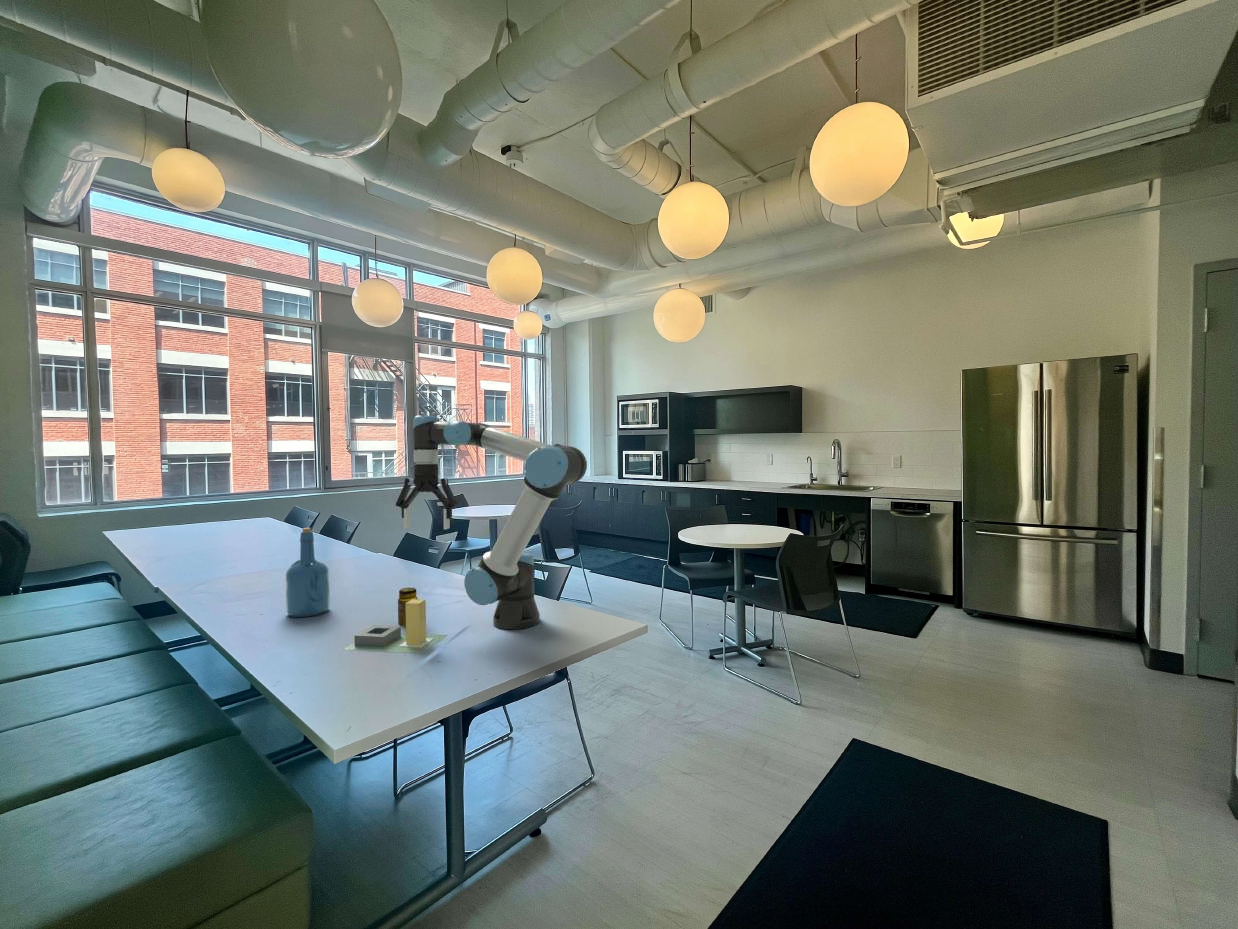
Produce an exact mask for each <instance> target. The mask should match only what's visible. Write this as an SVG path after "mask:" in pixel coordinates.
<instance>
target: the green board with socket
mask: <svg viewBox="0 0 1238 929" xmlns="http://www.w3.org/2000/svg"><path fill="white" fill-rule="evenodd" d="M401 629H402V625H399V626H398V625H395V626H394V625H376V624H375V625H374V624H373V625H371V626H369V627H367V628H366V629H364V630H361V631H360V632H359V633H357V634H355V635H354V642H353V643H352V644H350V645H349V646H346V647H345V648H343V650H344V651H360V652H362V651H364V652H365V651H366V652H378V653H379V652H380V653H400V654H418V655H419V654H420V655H421V654H425V653H426V652H427V651H428V650H430V649H431V648H432V647H434V646H435V645H437V643H439V642H440V641H442V640H443V639H444V638H446V637H447V636H448V634H437V633H436V634H435V633H434V634H433V633H426V641H424V642H423V643H421V644H420V645H409V644H406V632H402V630H401Z"/></svg>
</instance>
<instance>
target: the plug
mask: <svg viewBox="0 0 1238 929" xmlns="http://www.w3.org/2000/svg"><path fill="white" fill-rule="evenodd" d="M426 602H427V601H426V599H412V600H411V601H409V602H407V603H406V625H405V633H406V644H409V645H420V644H421V643H423V642H424V641H426V634H427V616H426V615H427V613H426V612H427V610H426V609H427V603H426Z"/></svg>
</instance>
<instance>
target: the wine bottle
mask: <svg viewBox="0 0 1238 929" xmlns="http://www.w3.org/2000/svg"><path fill="white" fill-rule="evenodd" d="M314 541H315V537H314V531H312V528H311V527H304V528H302V531H301V532H300V538H299V543H300V544H299V545H300V546H299V547H300V549H299V550H300V551H299V552H300V553H299V554H300V555H299V559H298V560H296V561H295V562H294V563H292V564H291V565H290V567H289V568H288V569H287V570H286V572H285V601H286V602H285V603H286V604H285V605H286V606H285V607H286V608H285V610H286V614H287V616H289V617H293V618H309V617H313V616H314V617H315V616H318V615H321V614H324V613H326V612H328V610H329V609H330V607H331V606H330V602H331V601H330V600H331V599H330V598H331V597H330V570H329V568H328V566H327V565H326V564H325V563H324V562H321V561H318V560H316V557H315V544H314Z"/></svg>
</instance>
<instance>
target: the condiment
mask: <svg viewBox="0 0 1238 929" xmlns="http://www.w3.org/2000/svg"><path fill="white" fill-rule="evenodd" d="M412 599H418V596H417V589H416V588H415V587H404V588H401V589H399V591H398V598H397V616H398V617H397V620H398V621H397V623H398V625H399V626H406V603H407V602H409V601H411V600H412Z"/></svg>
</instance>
